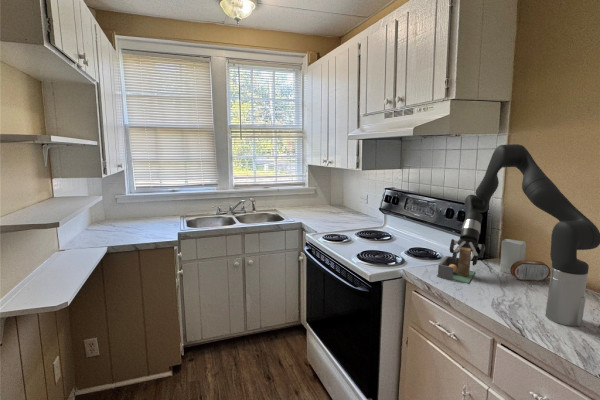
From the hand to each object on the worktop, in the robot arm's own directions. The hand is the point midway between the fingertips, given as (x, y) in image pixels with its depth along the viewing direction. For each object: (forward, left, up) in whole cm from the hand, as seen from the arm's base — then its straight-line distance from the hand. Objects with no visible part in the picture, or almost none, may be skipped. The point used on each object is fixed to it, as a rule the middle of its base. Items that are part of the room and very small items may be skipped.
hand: (463, 262), depth 146 cm
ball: (+5, -1, -4) cm, 6 cm away
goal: (+3, -2, -6) cm, 7 cm away
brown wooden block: (0, -2, -6) cm, 6 cm away
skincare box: (-17, -20, -7) cm, 27 cm away
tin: (-24, -14, -7) cm, 28 cm away
